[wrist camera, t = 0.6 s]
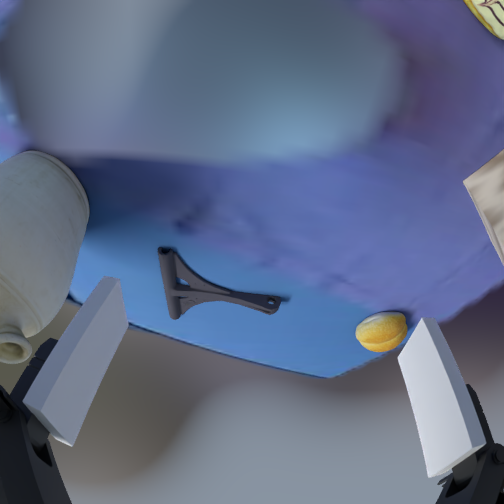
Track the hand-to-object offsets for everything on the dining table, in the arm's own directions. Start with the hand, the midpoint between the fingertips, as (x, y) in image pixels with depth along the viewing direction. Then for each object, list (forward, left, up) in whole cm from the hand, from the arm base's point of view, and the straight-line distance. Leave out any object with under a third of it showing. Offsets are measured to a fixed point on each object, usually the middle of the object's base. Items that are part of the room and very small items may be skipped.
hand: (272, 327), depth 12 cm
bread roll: (+25, +23, -16) cm, 37 cm away
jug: (+8, -23, -16) cm, 29 cm away
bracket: (+21, -2, -16) cm, 27 cm away
